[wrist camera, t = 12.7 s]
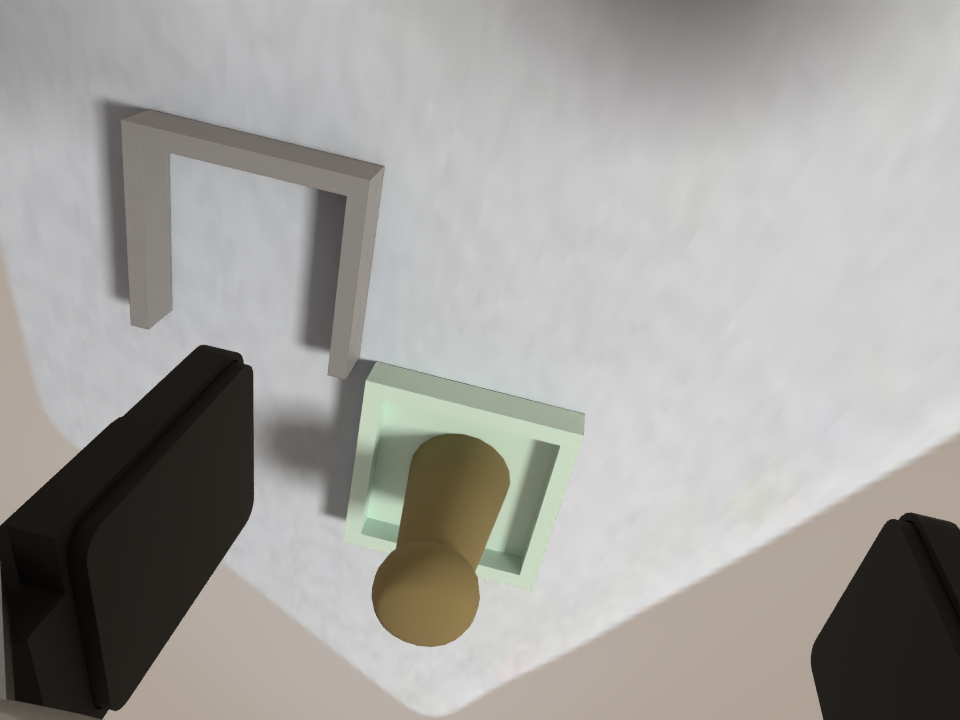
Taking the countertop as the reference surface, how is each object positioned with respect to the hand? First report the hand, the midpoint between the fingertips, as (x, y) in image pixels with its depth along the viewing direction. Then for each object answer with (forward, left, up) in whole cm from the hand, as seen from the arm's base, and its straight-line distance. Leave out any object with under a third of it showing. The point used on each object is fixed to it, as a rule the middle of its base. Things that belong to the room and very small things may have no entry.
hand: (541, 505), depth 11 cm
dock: (+15, +10, -27) cm, 32 cm away
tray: (+2, +21, -27) cm, 34 cm away
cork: (+2, +21, -26) cm, 33 cm away
